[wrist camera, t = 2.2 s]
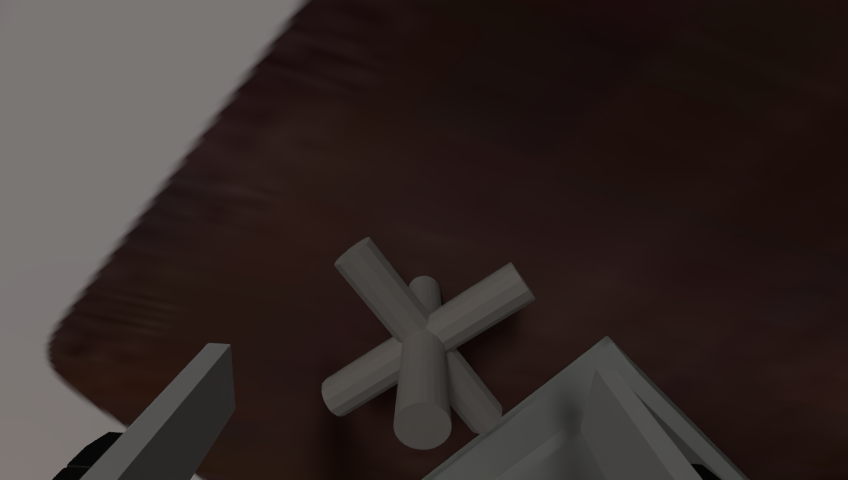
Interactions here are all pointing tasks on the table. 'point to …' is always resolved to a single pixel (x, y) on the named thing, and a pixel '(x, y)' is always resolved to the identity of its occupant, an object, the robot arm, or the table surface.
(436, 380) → the pipe connector
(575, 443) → the tray
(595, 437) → the robot arm
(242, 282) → the table surface
